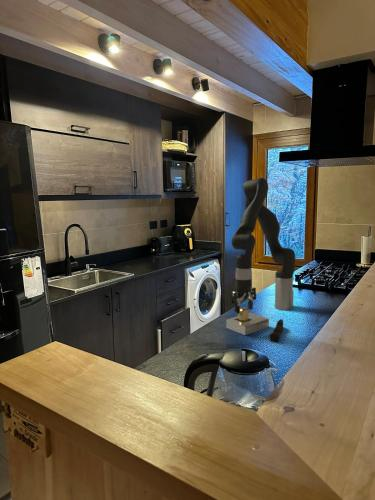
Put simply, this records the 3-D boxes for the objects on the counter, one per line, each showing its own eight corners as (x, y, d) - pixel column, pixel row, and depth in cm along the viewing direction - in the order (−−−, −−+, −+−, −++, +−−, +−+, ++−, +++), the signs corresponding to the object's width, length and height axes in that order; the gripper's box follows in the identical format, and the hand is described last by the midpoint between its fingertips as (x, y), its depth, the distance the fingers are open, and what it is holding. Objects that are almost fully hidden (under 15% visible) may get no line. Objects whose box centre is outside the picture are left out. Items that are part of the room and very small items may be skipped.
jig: (249, 320, 173) (249, 312, 173) (268, 326, 164) (268, 318, 163) (226, 327, 164) (226, 319, 163) (245, 335, 154) (245, 326, 154)
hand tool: (278, 343, 145) (279, 333, 145) (269, 341, 147) (269, 331, 147) (287, 328, 162) (288, 319, 162) (279, 327, 164) (279, 317, 163)
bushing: (243, 325, 167) (243, 306, 166) (250, 327, 163) (250, 309, 162) (236, 327, 164) (236, 308, 163) (243, 330, 160) (243, 311, 159)
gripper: (248, 273, 167) (248, 306, 169) (226, 278, 159) (227, 312, 161) (260, 276, 161) (260, 309, 164) (238, 281, 153) (238, 316, 155)
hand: (243, 311), depth 162 cm, fingers open, 8 cm apart
